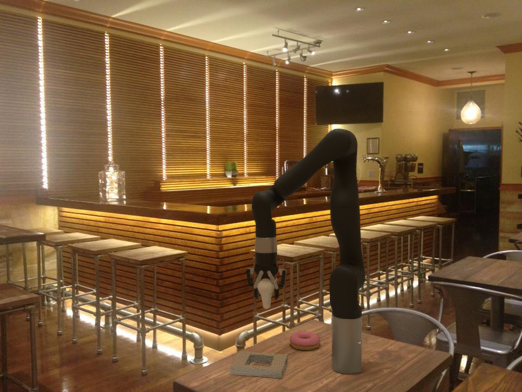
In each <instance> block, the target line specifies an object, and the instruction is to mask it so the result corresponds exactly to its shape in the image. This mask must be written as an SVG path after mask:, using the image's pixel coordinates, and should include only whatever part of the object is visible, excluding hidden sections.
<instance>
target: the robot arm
mask: <svg viewBox="0 0 522 392" xmlns="http://www.w3.org/2000/svg"><path fill="white" fill-rule="evenodd" d="M358 147H359V146H358V139H357V137H356V135H355V134H354V133H353V132H352V131H351V130H349V129H343V128H334V129H331V130H330V131H329V132H327V133H326V134H325V135H324V136H323V138H322V139H320V141H319V142H318V143H317V144H316V145H315V146H314V148H312V149H311V151H309V152H308V153H307V154H306V155H305V156H304V157H302V159H300V160H299V161H298V162H297V163H296V164H294V165H293V166H292V167H290V168H289V169H288V170H286V171H285V172H284V173H282V174H281V175H280V176H278V177H277V179H275V181H274V183H273V185H271V186H270V187H269V188H267V189H266V190H260V191H257V192H255V193H254V195H253V196H252V199H251V210H252V217H253V220H254V222H255V229H254V231H255V232H254V233H255V240H254V267H248V268H246V269H245V274H246V280H247V284H248V287H252V288H253V297H254V298H255V300H259V299H260V293H259V291H258V288H257V286H258V283H259V282H260V279H269V280H271V281H272V283H273V285H274V287H275V289H274V301H277V300H278V299H279V298H280V289H281V288H284V286H285V285H286V278H287V272H288V269H287V268H280V267H279V266H278V241H277V240H278V239H277V223H276V220H275V219H274V218H273V216H272V215H273V214H272V211H273V210H275V209H276V208H277V209H278V207H280V206H281V204H283V202H285V201H286V200H287V198H288V197H290V196H291V195H293V194H294V193H296V192H298V191H299V190H300V189H301V188H302V187H303V186H305V185H306V184H307V183H308V182H309V181H310V180H311V179H312V177H314V175H315V174H317V172H318V171H320V170H322V169H323V168H324V167H325V166H327V165H328V164H331V163H332V164H333V165H332V166H333V180H332V186H331V192H330V196H329V216H330V217H329V218H330V224H331V225H330V226H331V227H332V231H333V234H334V235H335V238H336V240H337V241H336V242H337V243H338V250H339V266H336V267H334V269H333V270H332V271H331V273H330V276H329V281H328V282H329V283H328V285H329V288H328V289H329V291H328V292H329V305H330V308H331V368H332V369H333V371H335V372H337V373H339V374H344V375H354V374H357V373H359V374H360V373H362V366H363V365H362V361H363V359H362V358H363V356H362V355H363V353H362V351H363V349H362V348H363V346H362V344H363V342H362V336H363V332H362V330H363V327H362V326H363V325H362V322H363V308H362V306H361V305H360V304H359V290H360V289H362V287H363V286H364V284H365V283H366V271H365V270H366V269H365V264H364V258H363V251H362V232H361V231H362V229H361V227H362V226H361V206H360V205H361V204H360V193H359V192H360V191H359V185H358V184H359V182H358V176H357V175H358V172H357V171H358V169H357V167H358V166H357V163H358ZM254 273H255V274H256V276H257V277H256V279H255V281H254V279H253V274H254ZM278 273H279V276H281V279H280V283H279V281H278V278H277V276H276V275H277V274H278Z"/></svg>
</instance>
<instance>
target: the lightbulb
mask: <svg viewBox="0 0 522 392" xmlns="http://www.w3.org/2000/svg"><path fill="white" fill-rule="evenodd" d="M257 288H258V291H259V295H260V297H261V301H262V308H263V309H265V310H268V309H270V308H271V305H272V304H271V302H272V296H273V294H274V293H275V290H274V289H275V287H274V285H273V283H272V281H271V280H269V279H260V282H259V283H258V286H257Z"/></svg>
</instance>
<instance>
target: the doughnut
mask: <svg viewBox="0 0 522 392" xmlns="http://www.w3.org/2000/svg"><path fill="white" fill-rule="evenodd" d="M289 344H290V345H291V347H292V348H294V349H296V350H300V351H312V350H316V349H317V348H319V346H320V344H321V338H320V336H319V335H318V334H317V333H315V332H312V331H309V330H308V331H307V330H305V331H304V330H302V331H296V332H294V333H292V334H291V335H290V338H289Z"/></svg>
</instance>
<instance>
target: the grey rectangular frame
mask: <svg viewBox="0 0 522 392" xmlns="http://www.w3.org/2000/svg"><path fill="white" fill-rule="evenodd" d="M250 363H262V364H270V365H269V366H265V365H254V364H253V365H251V364H250ZM287 365H288V354H285V353H283V354H282V353H272V352H271V353H270V352H257V351H256V352H255V351H244V350H239V352H238V353H237V354H236V356H235V358H234V360H233V361H232V363H231V365H230V369H229V370H230V375H236V376H244V377H245V376H248V377H256V378H257V377H258V378H269V379H270V378H271V379H273V378H274V379H281V380H282V379H283V376H284V374H285V370H286V368H287Z"/></svg>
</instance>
